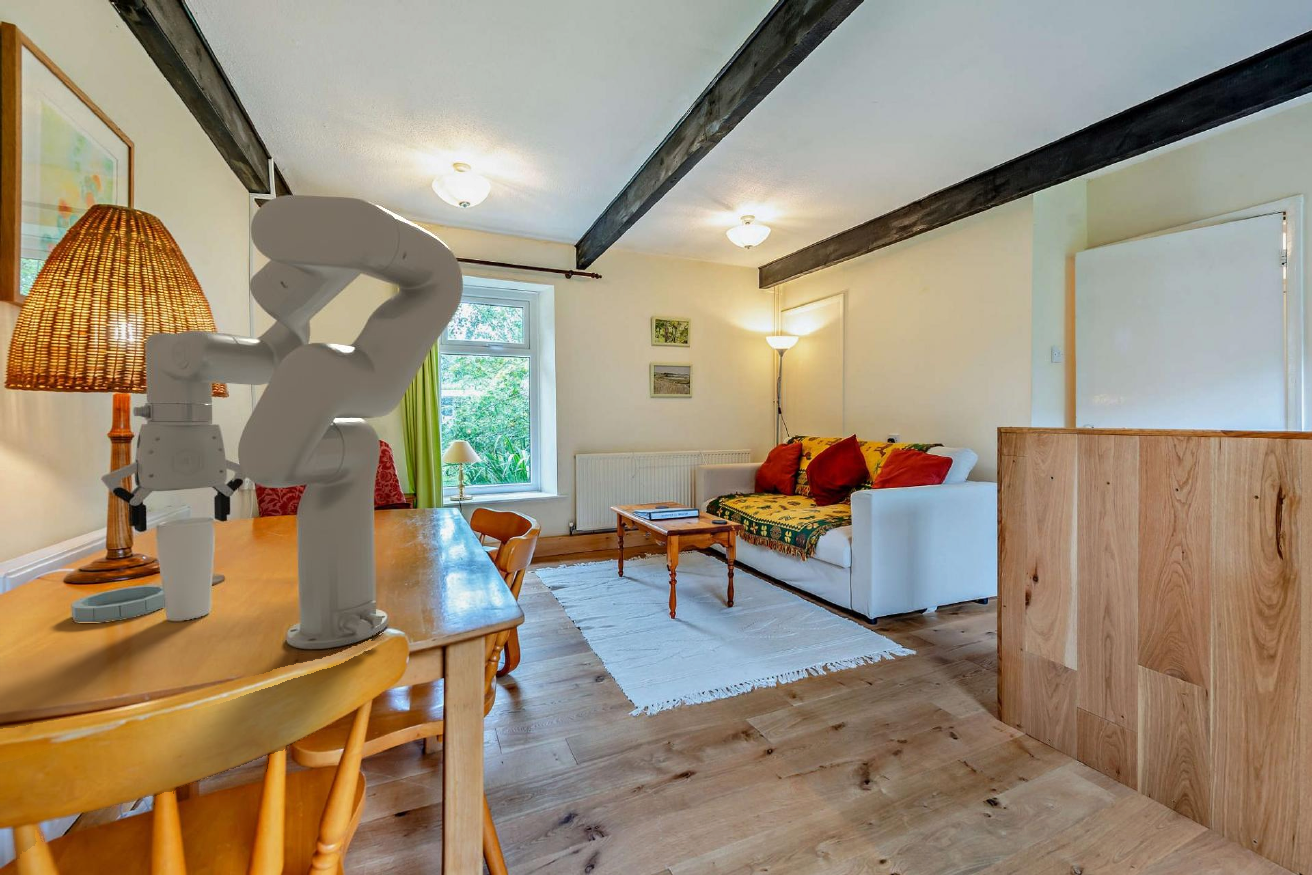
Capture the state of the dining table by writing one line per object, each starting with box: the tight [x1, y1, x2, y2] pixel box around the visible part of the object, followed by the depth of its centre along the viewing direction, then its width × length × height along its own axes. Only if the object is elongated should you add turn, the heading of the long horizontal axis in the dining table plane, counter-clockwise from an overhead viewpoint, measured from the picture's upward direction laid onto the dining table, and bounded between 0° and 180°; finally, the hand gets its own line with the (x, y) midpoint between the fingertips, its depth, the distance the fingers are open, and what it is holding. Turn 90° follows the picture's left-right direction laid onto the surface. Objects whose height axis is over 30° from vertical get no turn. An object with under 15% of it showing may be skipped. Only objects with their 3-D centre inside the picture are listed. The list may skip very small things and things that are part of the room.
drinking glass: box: [155, 517, 216, 622], centre depth 83 cm, size 7×7×15 cm
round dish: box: [70, 584, 166, 622], centre depth 85 cm, size 11×11×2 cm
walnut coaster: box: [212, 573, 226, 586], centre depth 99 cm, size 9×9×1 cm
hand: (182, 525), depth 82 cm, fingers open, 9 cm apart
